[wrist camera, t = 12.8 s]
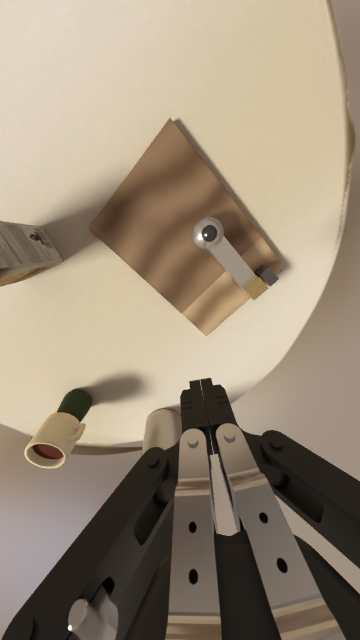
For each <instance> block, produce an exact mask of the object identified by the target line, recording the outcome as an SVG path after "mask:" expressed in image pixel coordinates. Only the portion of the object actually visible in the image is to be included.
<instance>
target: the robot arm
mask: <svg viewBox="0 0 360 640" xmlns="http://www.w3.org/2000/svg"><path fill="white" fill-rule="evenodd" d="M200 380H201V385H200ZM200 380H194V381H189V383H190V389H188V390H183V391H182V394H181V396H180V401H181V416H180V415H179V414H178V413H177V412H175V411H173V410H169V409H160V410H157V411H154V412H153V413H151V414H150V415H149V416H148V418H147V421H146V428H145V434H144V441H143V448H142V454H141V458H140V459H139V460H138V462H137V463H136V464H135V465H134V467H133V468H132V469H131V470H130V472H129V473H128V474H127V475H126V477H125V478H124V479H123V480H122V482H121V483H120V485H119V486H118V487H117V488H116V489H115V491H114V492H113V493H112V494H111V496H110V497H109V498H108V499H107V501H106V502H105V503H104V504H103V506H102V507H101V508H100V509H99V511H98V512H97V513H96V514H95V516H94V517H93V518H92V520H91V521H90V522H89V523H88V525H87V526H86V527H85V528H84V530H83V531H82V532H81V534H80V535H79V536H78V537H77V539H76V540H75V541H74V542H73V543H72V545H71V546H70V547H69V548H68V550H67V551H66V552H65V554H64V555H63V556H62V557H61V559H60V560H59V561H58V562H57V564H56V565H55V566H54V568H53V569H52V570H51V571H50V572H49V574H48V575H47V576H46V577H45V579H44V580H43V581H42V583H41V584H40V585H39V586H38V588H37V589H36V590H35V591H34V593H33V594H32V595H31V596H30V598H29V599H28V600H27V601H26V603H25V604H24V605H23V606H22V608H21V609H20V610H19V611H18V613H17V614H16V615H15V617H14V618H13V620H12V621H11V623H10V624H9V626H8V628H7V630H6V631H5V634H4V635H3V638H2V640H360V594H359V593H358V592H357V591H356V590H355V589H354V588H353V587H352V586H351V585H350V584H349V583H348V582H347V581H346V580H345V579H344V578H343V577H342V576H341V575H340V574H339V573H338V572H337V571H336V570H335V569H334V568H333V567H332V566H331V565H330V564H329V563H328V562H327V561H326V560H325V559H324V558H323V557H322V556H321V555H320V554H319V553H318V552H317V551H316V550H315V549H313V548H312V547H311V546H310V545H309V544H307V543H306V542H305V541H303V540H302V539H301V538H299V537H297V536H295V535H294V534H293V533H292V531H291V529H290V527H289V525H288V523H287V520H286V518H285V516H284V514H283V512H282V510H281V508H280V505H279V503H278V501H277V499H276V497H275V495H276V496H277V497H279V498H280V499H281V500H282V501H283V502H284V503H286V504H287V505H288V506H289V507H290V508H291V509H292V510H293V511H294V512H296V513H297V514H298V515H299V516H300V517H301V518H303V519H304V520H305V521H306V522H307V523H308V524H309V525H310V526H312V527H313V528H314V529H315V530H316V531H317V532H318V533H320V534H321V535H322V536H323V537H324V538H325V539H326V540H328V541H329V542H330V543H331V544H332V545H333V546H334V547H336V548H337V549H338V550H339V551H340V552H341V553H342V554H344V555H345V556H346V557H347V558H348V559H349V560H350V561H352V562H353V563H354V564H355V565H356V566H357V567H358V568H360V481H358V480H357V479H355V478H353V477H352V476H350V475H349V474H347V473H345V472H344V471H342V470H341V469H339V468H337V467H336V466H334V465H333V464H331V463H329V462H328V461H326V460H324V459H323V458H321V457H320V456H318V455H316V454H315V453H313V452H311V451H310V450H308V449H307V448H305V447H303V446H302V445H300V444H299V443H297V442H295V441H294V440H292V439H290V438H289V437H287V436H286V435H284V434H282V433H281V432H278V431H274V430H269V431H266V432H265V433H263V435H262V436H259V435H253V434H249V433H247V432H245V431H243V430H242V429H241V428H240V427H239V426H238V424H237V422H236V420H235V417H234V414H233V411H232V408H231V405H230V403H229V400H228V397H227V394H226V391H225V389H224V388H223V387H222V386H221V385H220V384H219V385H213V384H212V381H211V378H206V379H200ZM201 387H202V390H201ZM202 393H203V395H202ZM203 399H204V400H203ZM207 420H208V421H207ZM208 425H209V426H208ZM209 430H210V432H209ZM210 435H211V438H210ZM211 441H212V445H211ZM212 446H213V450H214V454H218V457H219V462H220V468H221V472H222V476H223V479H224V483H225V487H226V490H227V494H228V497H229V501H230V504H231V508H232V512H233V516H234V520H235V525H236V529H237V533H236V534H234V535H232V536H225V535H221V534H218V529H217V522H216V513H215V503H214V493H213V483H212V475H211V474H212V473H211V468H212V467H211V459H210V455H213V451H212ZM274 494H275V495H274Z"/></svg>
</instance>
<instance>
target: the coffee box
mask: <svg viewBox="0 0 360 640" xmlns="http://www.w3.org/2000/svg"><path fill="white" fill-rule="evenodd" d="M61 262H63V259H62V258H61V256H60V255H59V253H58V252H57V250H56V249H55V247H54V246H53V244H52V243H51V241H50V239H49V238H48V236H47V235H46V233H45V232H44V230H43V229H42V227H40V226H32V225H25V224H17V223H10V222H2V221H0V286H4V285H8V284H12V283H16V282H20V281H23V280H25V279H27V278H29V277H31V276H33V275H36V274H38V273H40V272H42V271H44V270H46V269H48V268H50V267H53V266H55V265H57V264H59V263H61Z"/></svg>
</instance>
